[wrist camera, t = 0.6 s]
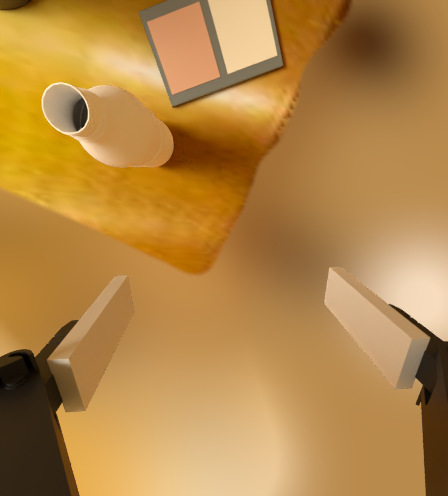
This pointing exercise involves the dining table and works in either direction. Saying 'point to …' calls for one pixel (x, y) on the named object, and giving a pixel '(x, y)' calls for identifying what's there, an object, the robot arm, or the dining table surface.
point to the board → (211, 44)
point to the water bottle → (109, 124)
